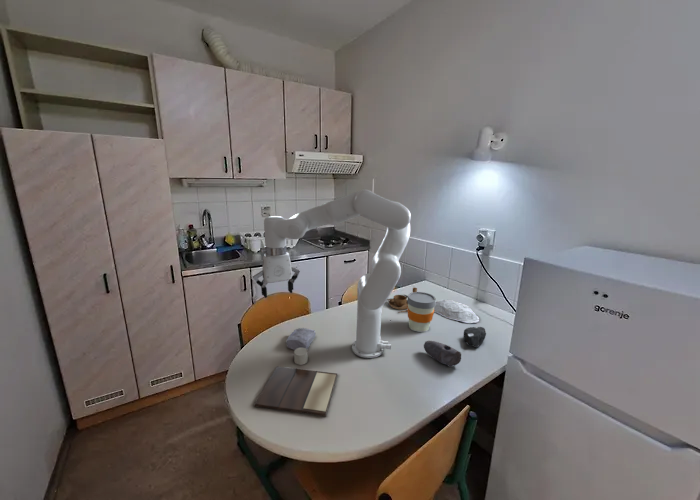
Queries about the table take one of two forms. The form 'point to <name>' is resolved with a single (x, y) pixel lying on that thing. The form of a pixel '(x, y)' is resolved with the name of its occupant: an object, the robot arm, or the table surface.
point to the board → (298, 391)
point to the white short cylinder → (300, 356)
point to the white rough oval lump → (455, 311)
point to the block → (300, 338)
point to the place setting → (400, 301)
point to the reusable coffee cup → (420, 310)
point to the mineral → (474, 336)
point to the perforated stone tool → (442, 353)
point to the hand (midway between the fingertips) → (277, 294)
